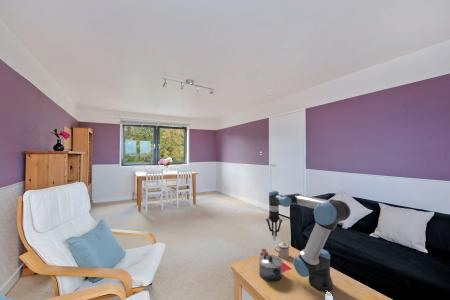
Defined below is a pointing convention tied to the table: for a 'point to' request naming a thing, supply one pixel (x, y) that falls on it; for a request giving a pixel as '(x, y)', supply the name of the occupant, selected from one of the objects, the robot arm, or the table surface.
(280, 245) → the teacup with lid
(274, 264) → the lid
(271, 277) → the cooker pot
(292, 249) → the table surface
